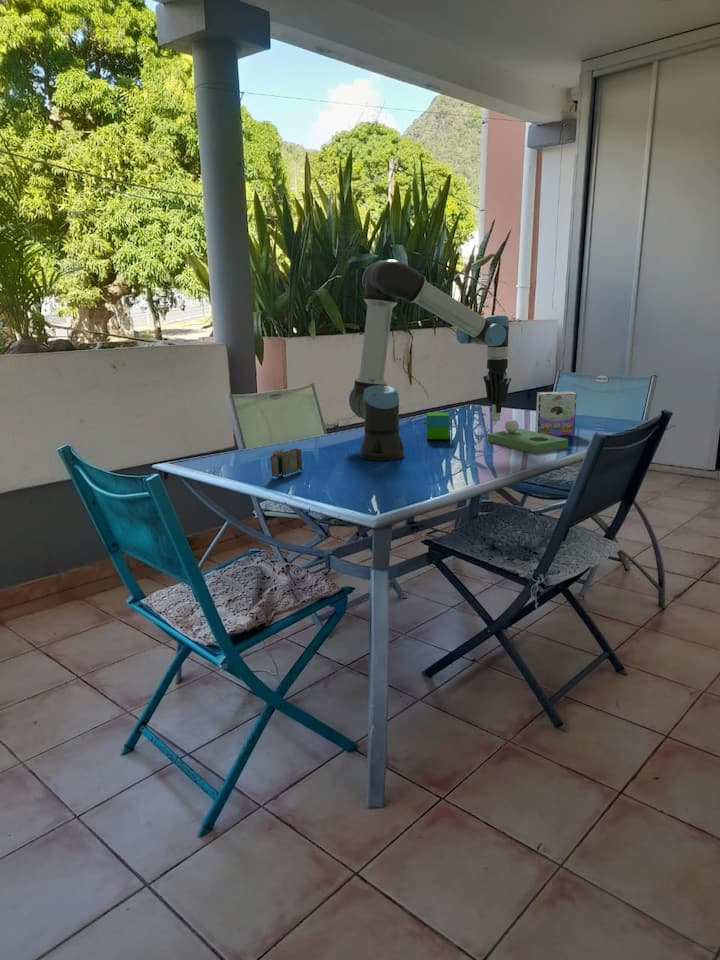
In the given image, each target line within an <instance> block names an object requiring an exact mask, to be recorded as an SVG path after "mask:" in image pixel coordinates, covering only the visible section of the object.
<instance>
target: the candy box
mask: <svg viewBox="0 0 720 960" xmlns="http://www.w3.org/2000/svg"><path fill="white" fill-rule="evenodd" d="M535 407H536V409H535V410H536V411H535V412H536V413H535V427H534V428H535V429H534V430H535V431H534V432H537V433H542V434H546V435H551V436H555V437H574V436H575V429H576V428H575V427H576V412H577V411H576V410H577V408H576V407H577V393H576V392H574V391H537V392H536V406H535Z"/></svg>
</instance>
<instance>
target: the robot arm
mask: <svg viewBox="0 0 720 960" xmlns="http://www.w3.org/2000/svg"><path fill="white" fill-rule="evenodd" d="M361 282H362V287H363V290H364V297H363V301H364V302H365V304H366V305H367V306H366V317H365V326H364V334H363V342H362V343H363V344H362V353H361V361H360V368H359V375H358V376H357V377H356V378H354V384H353V385H354V386H353V389H352V390H351V391H350V394H349V396H348V404H349V407H350V409H351V411H352V412H353V413H354V414H355V415H356V416H357V417H358V418H360V419H363V420H364V436H363V439H362V442H361V446H360V450H359V457H360V458H361V459H362V458H363V460H365V459H367V461H371V460H375V461H374V462H387V461H386V460H391V461H396V460H395V459H397V460H400V458H401V459H403V458H404V457H405V449H404V445H403V442H402V438H401V437H400V397H399V391H398V390H397V389H396V388H394V386H393V387H392V386H388V381H386V379H385V374H386V373H385V371H386V363H387V355H388V347H389V341H390V340H389V339H390V330H391V322H392V314H393V313H392V312H393V308H394V307H395V306H397V305H398V302H399V299H400V300H404V301H405V302H406V303H407V302H408V303H409V304H411V303H412V304H413V303H415V304H417V305H418V306H420V307H421V308H423V309H425V310H426V311H428V312H430V313H432V314H434V315H435V316H437V317H438V318H440V319H442V320H444V321H445V322H447V323H449V324H450V325H452V326H453V327H455V328H456V330H455V331H456V333H455V335H456V339H457V341H458V343H459V344H461V345H470V344H474V345H481V346H482V345H483V346H487V348H486V349H487V350H486V357H487V358H488V359H487V360H486V368H487V369H488V372H487V374H486V375H484V376H483V381H484V385H485V391H486V399H487V402H489V403H490V404H491V413H492V414H491V422H494V423H495V422H501V413H502V404H505V403H506V401H507V397H508V392H509V387H510V386H509V385H510V383H511V382H512V378H510V377H508V376H507V372H506V370H507V369H508V366H509V364H508V362H509V359H508V356H509V330H510V321H509V317H508V316H507V315H505V314H503V315H500V314H499V315H498V314H497V315H495V314H494V315H489V316H488V317H487V318H485V317H484V316H482V315H481V314H479V313H478V312H476V311H474V310H473V309H471V308H470V307H469V306H467V305H465V304H463V303H461V302H460V301H458V300H456V299H455V298H454V297H452V296H451V295H449V294H448V293H445V292H444V291H443V290H441V289H439V288H438V287H436V286H434V285H432V284H431V283H430V282H428V281H427V279H426V276H424V275H423V274H422V273H420V272H418V271H417V270H415V269H414V268H412V267H411V266H409V265H407V264H406V263H404V262H402V261H401V260H398V259H394V258H393V259H386V260H378V261H375V262H372V263H371V264H369V266H367V267H366V269H365V270H364V272H363V273H362V280H361ZM487 369H486V370H487ZM402 457H403V458H402Z"/></svg>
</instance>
